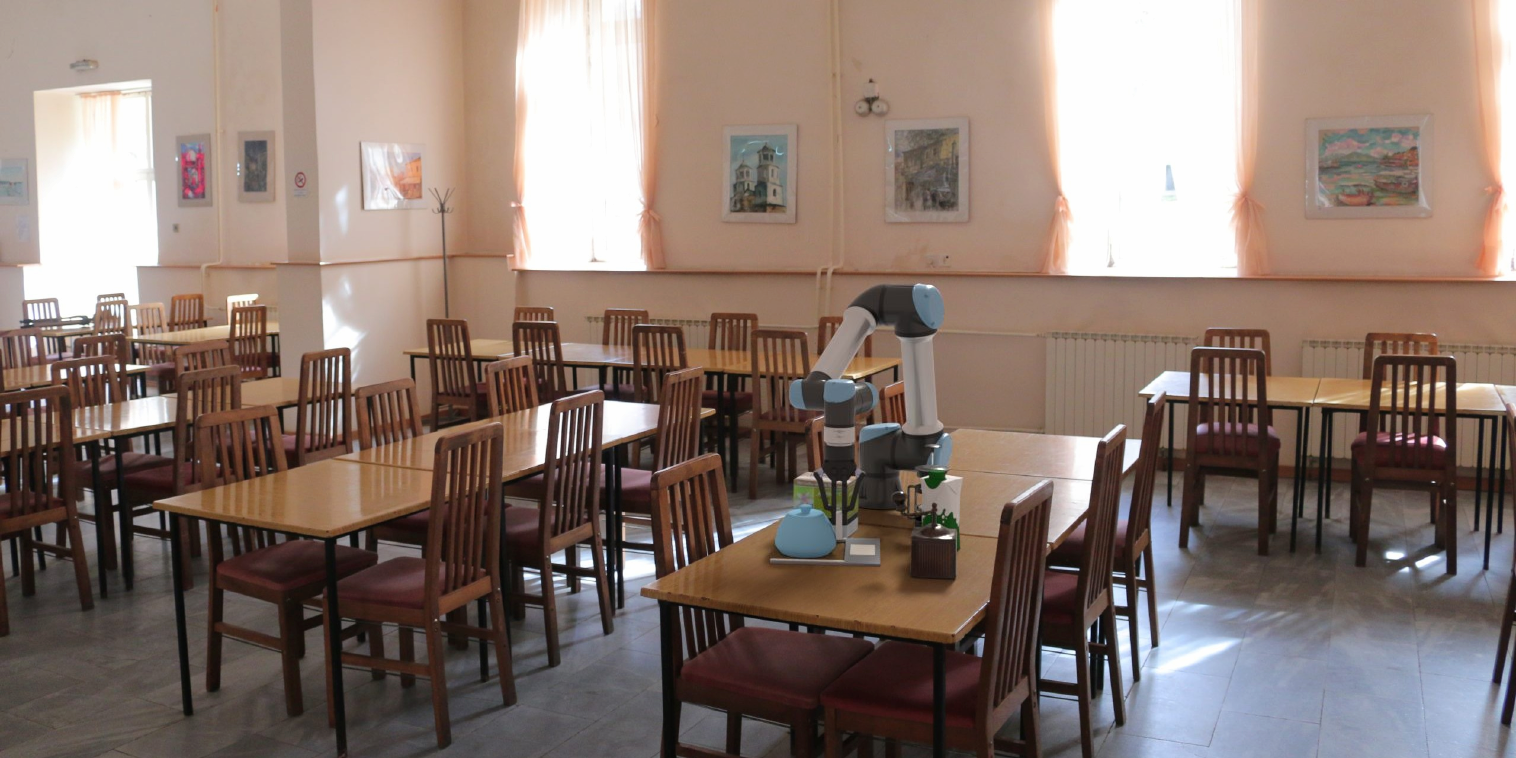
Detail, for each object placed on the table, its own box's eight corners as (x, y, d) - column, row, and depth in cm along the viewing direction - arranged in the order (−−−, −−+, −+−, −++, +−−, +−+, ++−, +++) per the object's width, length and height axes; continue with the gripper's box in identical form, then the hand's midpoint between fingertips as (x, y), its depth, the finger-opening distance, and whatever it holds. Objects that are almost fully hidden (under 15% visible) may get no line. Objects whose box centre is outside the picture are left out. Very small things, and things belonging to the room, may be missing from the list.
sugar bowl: (804, 539, 296) (804, 495, 295) (848, 551, 286) (849, 505, 284) (762, 551, 286) (762, 505, 285) (806, 563, 275) (806, 515, 274)
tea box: (792, 533, 302) (792, 478, 300) (805, 524, 312) (805, 470, 310) (847, 539, 297) (847, 482, 295) (859, 530, 306) (859, 475, 304)
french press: (955, 528, 307) (957, 443, 304) (947, 537, 298) (949, 449, 295) (912, 524, 311) (913, 440, 308) (902, 533, 302) (904, 446, 299)
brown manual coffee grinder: (957, 566, 272) (958, 491, 270) (956, 580, 261) (957, 502, 259) (890, 563, 275) (891, 488, 273) (887, 576, 264) (888, 499, 262)
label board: (777, 538, 298) (777, 535, 298) (879, 540, 295) (879, 537, 295) (769, 563, 275) (769, 560, 275) (880, 566, 273) (880, 563, 273)
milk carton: (915, 549, 287) (916, 469, 285) (936, 542, 294) (937, 464, 291) (945, 555, 281) (946, 474, 279) (966, 548, 288) (967, 469, 285)
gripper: (811, 445, 278) (811, 541, 281) (866, 446, 277) (865, 542, 280) (813, 440, 286) (813, 533, 289) (866, 440, 285) (865, 534, 288)
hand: (839, 538), depth 284 cm, fingers closed
